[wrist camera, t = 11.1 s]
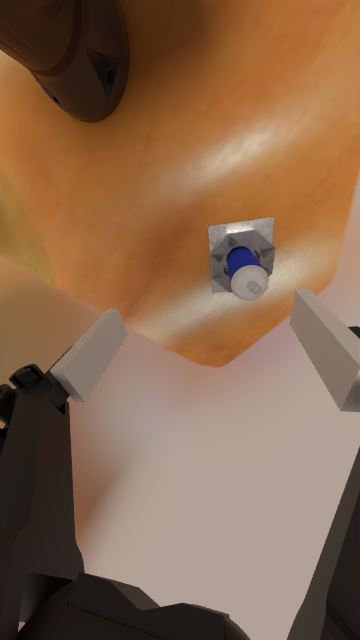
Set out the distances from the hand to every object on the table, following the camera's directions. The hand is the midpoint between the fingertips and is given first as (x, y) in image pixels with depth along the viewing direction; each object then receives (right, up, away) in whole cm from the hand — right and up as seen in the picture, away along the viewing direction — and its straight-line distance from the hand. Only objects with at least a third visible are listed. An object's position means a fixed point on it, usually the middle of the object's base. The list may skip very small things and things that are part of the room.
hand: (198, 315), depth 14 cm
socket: (+11, +13, +25) cm, 30 cm away
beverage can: (+11, +12, +24) cm, 29 cm away
